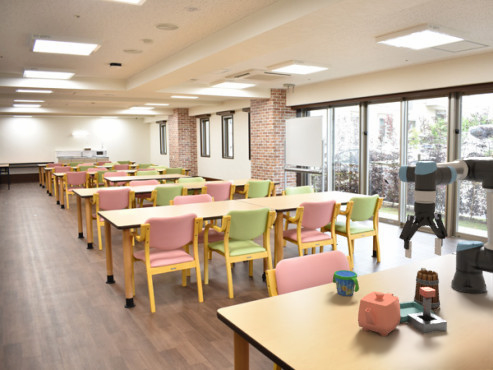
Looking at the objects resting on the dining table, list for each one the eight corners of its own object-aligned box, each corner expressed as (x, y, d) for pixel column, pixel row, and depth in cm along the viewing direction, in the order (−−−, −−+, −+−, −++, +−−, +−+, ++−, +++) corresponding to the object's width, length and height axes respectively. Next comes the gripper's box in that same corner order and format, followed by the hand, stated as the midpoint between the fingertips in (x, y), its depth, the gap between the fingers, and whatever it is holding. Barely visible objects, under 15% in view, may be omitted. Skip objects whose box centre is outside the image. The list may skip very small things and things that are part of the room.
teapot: (382, 345, 145) (382, 306, 144) (349, 334, 154) (350, 297, 153) (406, 324, 162) (406, 289, 160) (375, 316, 170) (375, 282, 169)
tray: (413, 306, 179) (413, 301, 179) (434, 318, 167) (434, 312, 166) (381, 310, 175) (381, 305, 175) (399, 323, 163) (399, 317, 163)
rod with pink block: (427, 323, 162) (428, 286, 161) (435, 328, 158) (436, 290, 157) (417, 324, 161) (418, 287, 160) (425, 329, 157) (426, 291, 155)
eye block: (428, 319, 166) (429, 311, 165) (446, 330, 156) (446, 321, 156) (407, 322, 163) (407, 314, 163) (423, 333, 153) (424, 324, 153)
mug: (442, 311, 174) (443, 276, 172) (416, 309, 176) (417, 275, 175) (433, 298, 189) (434, 266, 188) (409, 296, 191) (410, 265, 190)
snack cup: (365, 297, 191) (365, 276, 190) (346, 301, 187) (346, 279, 186) (344, 287, 205) (344, 267, 204) (326, 290, 201) (326, 270, 200)
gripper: (444, 199, 164) (442, 251, 166) (390, 201, 157) (389, 256, 159) (459, 201, 157) (457, 256, 159) (403, 204, 150) (401, 261, 152)
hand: (423, 256), depth 159 cm, fingers open, 13 cm apart
